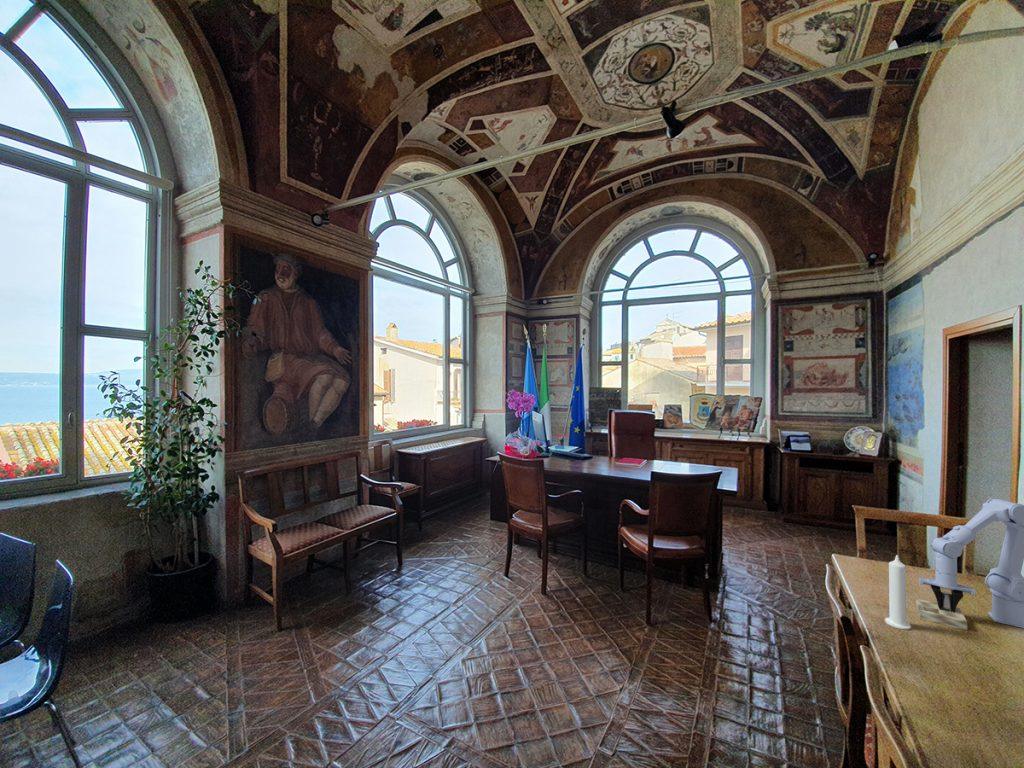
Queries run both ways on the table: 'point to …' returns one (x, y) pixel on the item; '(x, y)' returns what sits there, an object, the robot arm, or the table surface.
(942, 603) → the pin
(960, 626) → the socket block
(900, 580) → the candle
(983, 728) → the table surface
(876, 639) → the table surface
